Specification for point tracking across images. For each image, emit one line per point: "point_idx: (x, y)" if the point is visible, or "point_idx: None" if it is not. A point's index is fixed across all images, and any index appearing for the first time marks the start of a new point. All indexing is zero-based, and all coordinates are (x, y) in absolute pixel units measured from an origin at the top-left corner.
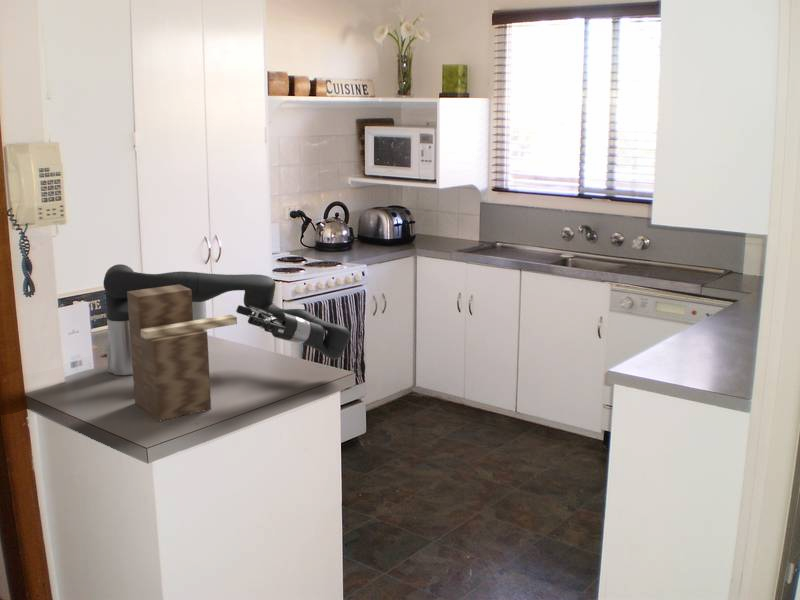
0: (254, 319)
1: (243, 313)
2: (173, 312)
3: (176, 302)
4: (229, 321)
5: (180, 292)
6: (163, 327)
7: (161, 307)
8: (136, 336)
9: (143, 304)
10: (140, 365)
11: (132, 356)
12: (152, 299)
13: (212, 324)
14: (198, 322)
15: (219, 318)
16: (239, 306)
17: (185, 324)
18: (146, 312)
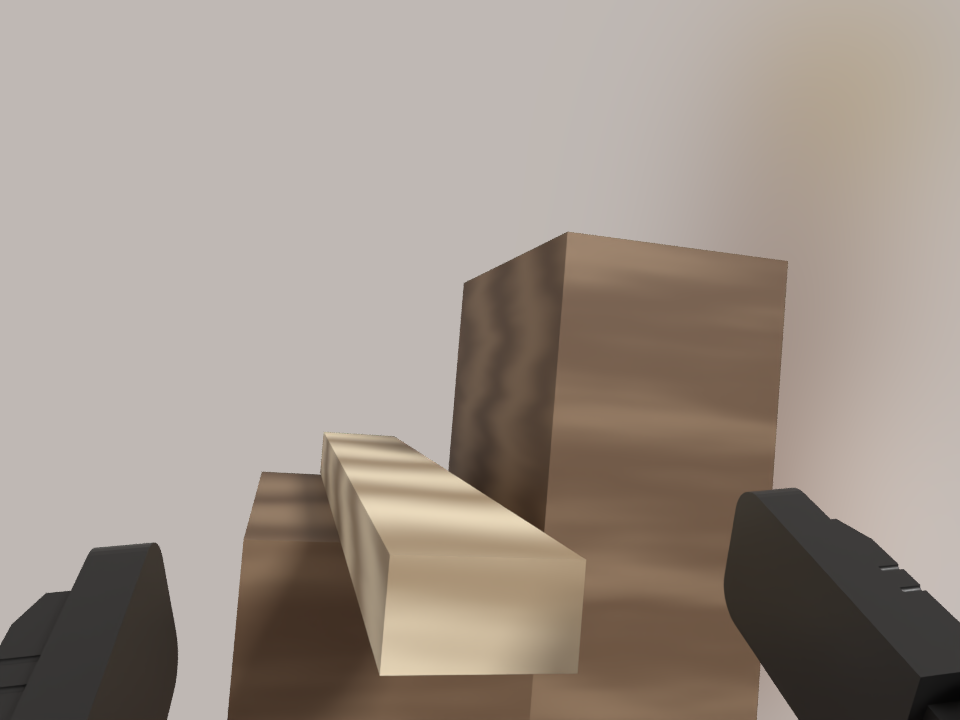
0: (20, 621)
1: (801, 695)
2: (505, 401)
3: (519, 332)
4: (373, 575)
5: (534, 257)
6: (366, 444)
7: (489, 354)
8: None
9: (467, 325)
10: None
11: None
12: (480, 300)
13: (350, 525)
14: (371, 472)
15: (426, 509)
16: (744, 497)
17: (365, 459)
18: (465, 372)
